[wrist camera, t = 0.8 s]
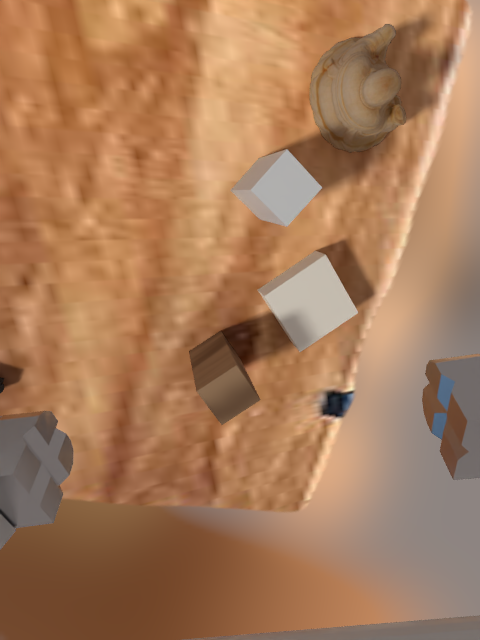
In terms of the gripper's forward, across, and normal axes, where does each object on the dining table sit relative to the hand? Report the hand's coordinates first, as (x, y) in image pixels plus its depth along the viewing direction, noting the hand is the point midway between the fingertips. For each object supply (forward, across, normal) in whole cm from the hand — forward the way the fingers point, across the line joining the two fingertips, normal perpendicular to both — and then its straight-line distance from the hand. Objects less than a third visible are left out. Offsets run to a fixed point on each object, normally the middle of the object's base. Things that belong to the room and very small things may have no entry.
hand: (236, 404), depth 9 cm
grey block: (+45, -1, +12) cm, 47 cm away
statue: (+50, -14, +5) cm, 53 cm away
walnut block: (+36, +8, +31) cm, 48 cm away
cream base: (+41, -5, +27) cm, 49 cm away
